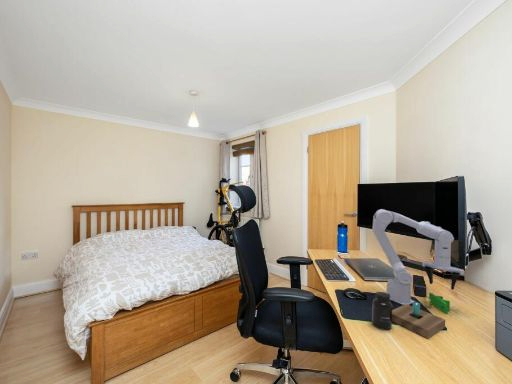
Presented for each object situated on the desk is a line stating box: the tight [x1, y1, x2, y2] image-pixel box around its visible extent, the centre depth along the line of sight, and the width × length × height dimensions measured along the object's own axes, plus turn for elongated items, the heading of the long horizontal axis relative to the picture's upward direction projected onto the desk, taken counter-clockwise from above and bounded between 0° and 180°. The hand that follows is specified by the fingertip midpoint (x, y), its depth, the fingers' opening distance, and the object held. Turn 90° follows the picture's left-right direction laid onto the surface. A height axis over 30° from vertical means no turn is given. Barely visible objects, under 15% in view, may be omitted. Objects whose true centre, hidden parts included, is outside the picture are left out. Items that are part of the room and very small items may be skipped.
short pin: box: [423, 296, 432, 310], centre depth 105 cm, size 2×2×4 cm
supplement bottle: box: [371, 291, 394, 331], centre depth 90 cm, size 7×7×12 cm
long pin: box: [412, 301, 421, 319], centre depth 92 cm, size 2×2×8 cm
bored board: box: [392, 304, 446, 340], centre depth 92 cm, size 14×14×3 cm
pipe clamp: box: [428, 292, 451, 315], centre depth 104 cm, size 11×4×5 cm, turn 173°
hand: (441, 286), depth 105 cm, fingers open, 7 cm apart
